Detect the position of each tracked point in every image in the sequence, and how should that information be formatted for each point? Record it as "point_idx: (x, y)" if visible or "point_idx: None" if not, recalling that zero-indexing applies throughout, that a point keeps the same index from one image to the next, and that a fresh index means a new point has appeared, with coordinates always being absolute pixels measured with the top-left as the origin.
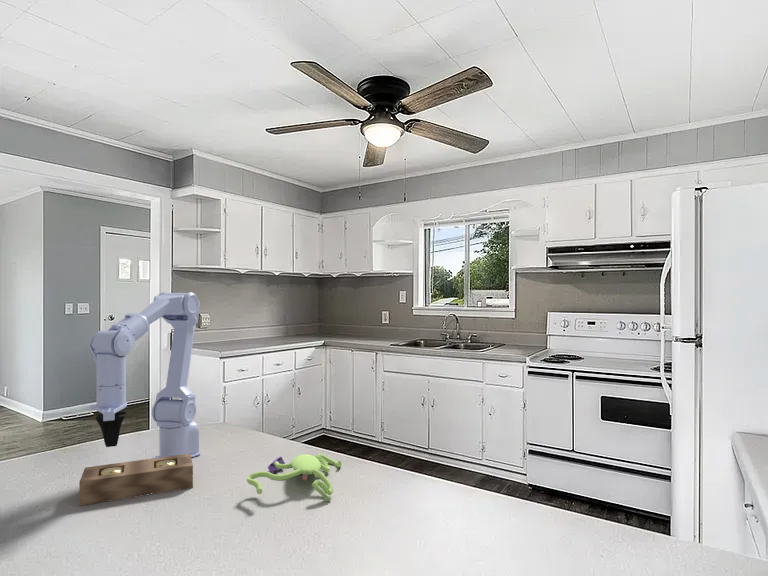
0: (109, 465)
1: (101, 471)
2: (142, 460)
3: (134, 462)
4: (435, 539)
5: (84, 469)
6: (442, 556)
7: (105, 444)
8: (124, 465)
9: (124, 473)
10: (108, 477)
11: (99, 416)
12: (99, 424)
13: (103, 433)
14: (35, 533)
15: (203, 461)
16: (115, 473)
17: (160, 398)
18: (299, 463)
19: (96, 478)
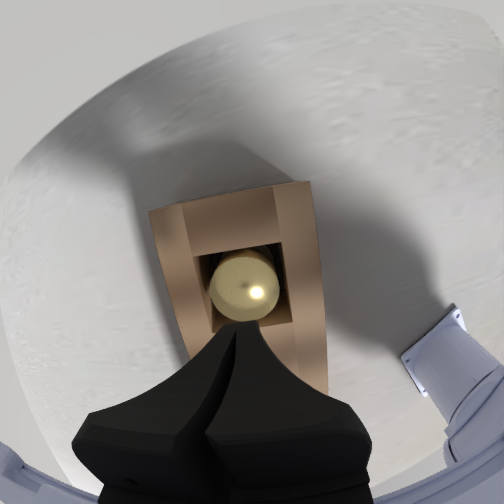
0: (306, 270)
1: (242, 258)
2: (320, 362)
3: (309, 345)
4: (99, 495)
5: (284, 185)
6: (81, 486)
7: (219, 329)
8: (293, 320)
9: (200, 337)
10: (171, 297)
11: (111, 463)
12: (120, 405)
13: (184, 368)
14: (63, 166)
15: (384, 409)
16: (217, 308)
17: None
18: None
19: (169, 260)
